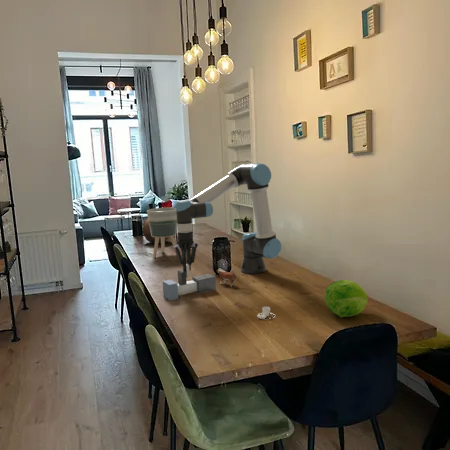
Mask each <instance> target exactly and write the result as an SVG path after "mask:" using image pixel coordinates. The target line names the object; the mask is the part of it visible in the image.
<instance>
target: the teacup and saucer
mask: <svg viewBox="0 0 450 450" xmlns="http://www.w3.org/2000/svg"><path fill="white" fill-rule="evenodd" d="M261 309H262V311H261V312H259V313H258V314H257V315H256V317H257V318H258V319H261V320H266V319H265V318H267V316H268V318H269V319H268V320H270V319H271V317H269V316H270V315H272V314H273V315H275V316H274V317H273V315H272V317H273V318H272V319H274V318H276V314H275V313H273V312H270V311H271V307H269V306H262V307H261ZM269 313H270V314H269ZM260 314H261V315H260ZM272 319H271V320H272Z"/></svg>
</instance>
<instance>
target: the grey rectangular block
mask: <svg viewBox="0 0 450 450" xmlns="http://www.w3.org/2000/svg"><path fill="white" fill-rule="evenodd" d="M191 279H192V280H196V281H198V291H194V292H195V293H197V294H199V295H200V294H205V293H210V292H213V291H214V292H215V291H216V290H217V283H216V276H215V275H212V274H210V273H206V274H200V275H196V276H192V278H191ZM192 280H191V281H192Z"/></svg>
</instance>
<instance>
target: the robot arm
mask: <svg viewBox="0 0 450 450" xmlns="http://www.w3.org/2000/svg"><path fill="white" fill-rule="evenodd" d="M271 179H272V172H271V169H270V167H269V166H268V165H267V164H265V163H259V162H256V163H255V162H254V163H253V162H252V163H251V162H250V163H243V164H241V165H238V166H236V167H235V168H233V169H232V170H229V172H227V173H226V176H224V177H223V178H221V179H219V180H218V181H216V182H215V183H213V184H211V185H210V186H209V187H207V188H206V189H204V190H203V191H201V192H199V193H198V194H197V195H195V196H193V197H192V198H190V199H184V200H183V199H181V200H178V201H177V202H176V203H175V208H176V215H177V242H176V246H174V247H173V246H172V247H173V249H174V252H175V251H176V252H175V254H177V255H176V257H177V261H178V264H179V265H182V270H183V271H185V272H186V279H188V278H190V277H191V276H190V275H191V274H190V271H191V270H192V266H191V265H192V263H195V259H196V253H197V248H198V246H199V244H198V243H196V242H195V241H194V240H193V239H194V235H193V234H194V233H193V219H201V218H202V219H203V218H209V217H212V215H213V212H214V208H213V207H214V206H213V205H212V202H213V201H215V200H216V199H218V198H220V197H221V196H223V195H224V194H226V193H227V192H229V191H230V190H232V189H236V188H238V187H240V186H242V185H246V187H247V190H248V191H249V192H250V194H251V195H250V196H251V199H252V206H253V214H254V219H255V227H256V231H255V232H247V233H244V234H242V251H243V252H242V258H243V259H242V262H241V266H240V272H241V273H243V274H248V275H249V274H253V275H255V274H262V273H264V272H265V273H266V271H267V266H266V263H265V260H264V258H265V259H275V258H277V257H278V256H279V254H280V253H281V250H282V242H281V240H279V239H278V238H277V234H276V232H275V231H274V230H273V225H272V220H271V219H272V218H271V212H270V207H269V206H270V205H269V199H268V198H269V197H268V192H267V189H268V188H269V183H270V182H271Z"/></svg>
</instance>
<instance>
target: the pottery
mask: <svg viewBox="0 0 450 450" xmlns="http://www.w3.org/2000/svg"><path fill="white" fill-rule="evenodd" d="M142 234H143V236H144V238H145V240H146V241H147V242H149V243H151V244H155V237H152V236H151V231H150V226H149V221H148V218H146V220H144V222H143V225H142ZM167 240H169V237H165V242H167ZM158 244H161V238H159V243H158Z"/></svg>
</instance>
